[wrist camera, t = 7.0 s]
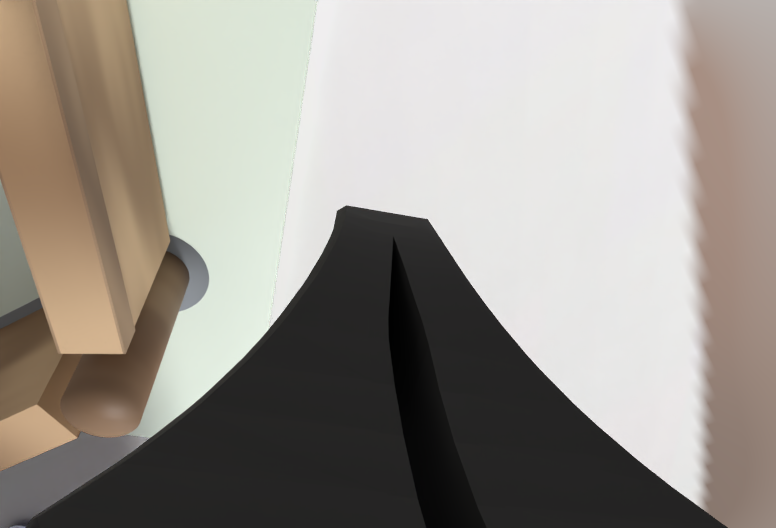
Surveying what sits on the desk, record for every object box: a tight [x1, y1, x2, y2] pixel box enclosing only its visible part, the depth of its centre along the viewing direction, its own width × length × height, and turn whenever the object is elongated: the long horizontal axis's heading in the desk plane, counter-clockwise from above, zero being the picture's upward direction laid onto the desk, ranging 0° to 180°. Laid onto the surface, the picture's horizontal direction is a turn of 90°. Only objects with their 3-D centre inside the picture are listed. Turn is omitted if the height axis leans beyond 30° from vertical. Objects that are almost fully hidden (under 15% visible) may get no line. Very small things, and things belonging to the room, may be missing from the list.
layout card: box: [0, 0, 317, 438], centre depth 17 cm, size 16×11×1 cm
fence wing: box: [0, 0, 170, 354], centre depth 13 cm, size 8×1×4 cm, turn 178°
